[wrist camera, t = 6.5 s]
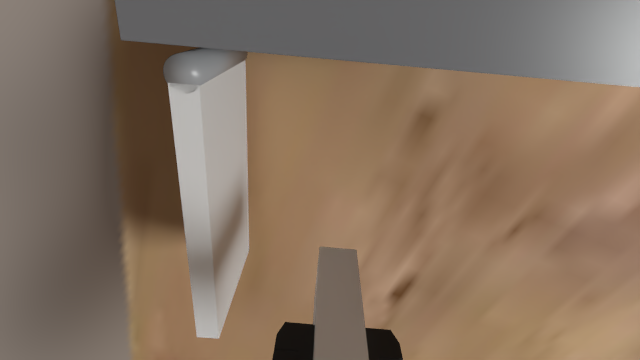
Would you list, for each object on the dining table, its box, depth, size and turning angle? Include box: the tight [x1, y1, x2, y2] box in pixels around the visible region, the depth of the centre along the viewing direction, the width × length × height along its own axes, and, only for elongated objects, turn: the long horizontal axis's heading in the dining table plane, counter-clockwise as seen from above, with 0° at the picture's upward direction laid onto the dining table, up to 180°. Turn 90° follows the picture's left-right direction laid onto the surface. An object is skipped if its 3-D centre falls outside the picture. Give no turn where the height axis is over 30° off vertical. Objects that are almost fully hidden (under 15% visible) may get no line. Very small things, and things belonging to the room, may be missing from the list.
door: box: [163, 47, 249, 339], centre depth 16 cm, size 2×12×7 cm, turn 175°
